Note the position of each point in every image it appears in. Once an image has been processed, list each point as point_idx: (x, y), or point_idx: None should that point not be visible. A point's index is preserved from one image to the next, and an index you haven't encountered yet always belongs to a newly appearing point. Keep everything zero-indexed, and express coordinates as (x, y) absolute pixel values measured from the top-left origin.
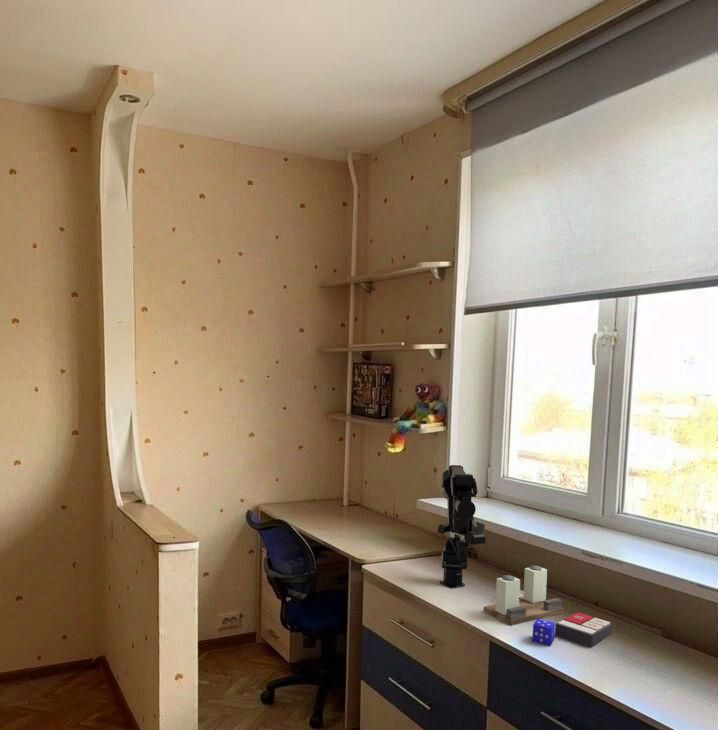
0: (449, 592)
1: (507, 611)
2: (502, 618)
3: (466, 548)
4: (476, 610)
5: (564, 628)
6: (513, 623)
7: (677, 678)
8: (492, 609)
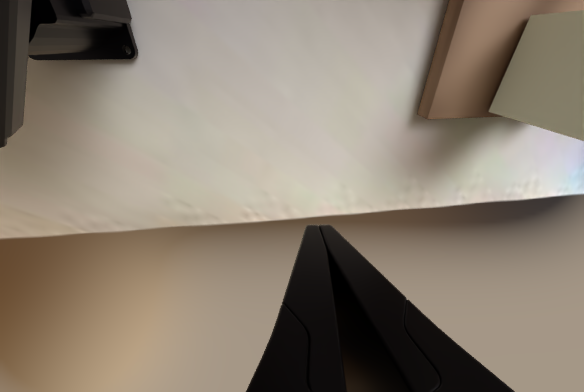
0: (192, 102)
1: None
2: None
3: (439, 340)
4: (393, 130)
5: None
6: None
7: None
8: (467, 104)
